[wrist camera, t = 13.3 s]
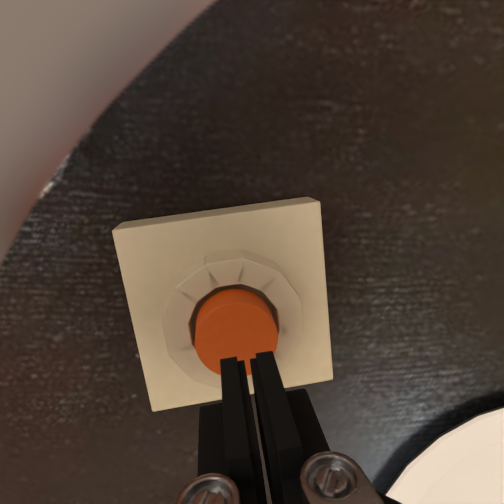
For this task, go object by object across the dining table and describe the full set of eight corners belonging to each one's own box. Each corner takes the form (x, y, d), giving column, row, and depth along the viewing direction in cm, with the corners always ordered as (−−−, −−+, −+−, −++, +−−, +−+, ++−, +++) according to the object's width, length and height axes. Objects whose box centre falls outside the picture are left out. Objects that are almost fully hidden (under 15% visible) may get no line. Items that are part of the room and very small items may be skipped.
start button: (189, 294, 17) (188, 309, 16) (267, 282, 18) (273, 295, 16) (202, 363, 18) (201, 384, 17) (275, 351, 19) (282, 370, 17)
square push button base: (121, 222, 20) (100, 238, 16) (308, 196, 21) (332, 206, 17) (157, 387, 22) (147, 436, 19) (322, 359, 23) (345, 400, 19)
